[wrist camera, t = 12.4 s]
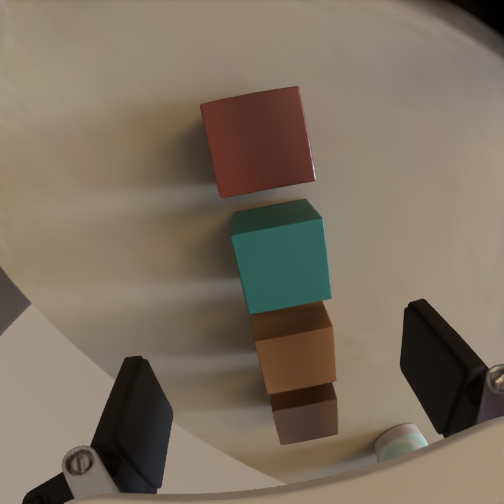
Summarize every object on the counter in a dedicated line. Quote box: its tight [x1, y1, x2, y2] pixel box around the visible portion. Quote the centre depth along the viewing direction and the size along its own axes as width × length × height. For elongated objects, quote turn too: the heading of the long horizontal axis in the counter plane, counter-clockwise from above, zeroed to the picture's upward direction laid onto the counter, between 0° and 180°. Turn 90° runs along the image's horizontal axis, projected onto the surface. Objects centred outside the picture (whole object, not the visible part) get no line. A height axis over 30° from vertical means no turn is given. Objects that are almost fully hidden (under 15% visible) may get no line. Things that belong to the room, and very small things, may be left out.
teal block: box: [231, 199, 332, 314], centre depth 20 cm, size 5×5×5 cm
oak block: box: [253, 301, 336, 394], centre depth 23 cm, size 5×5×5 cm
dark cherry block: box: [200, 86, 316, 199], centre depth 18 cm, size 5×5×5 cm
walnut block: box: [270, 382, 338, 445], centre depth 25 cm, size 5×5×5 cm
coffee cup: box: [375, 424, 428, 463], centre depth 26 cm, size 8×9×12 cm
